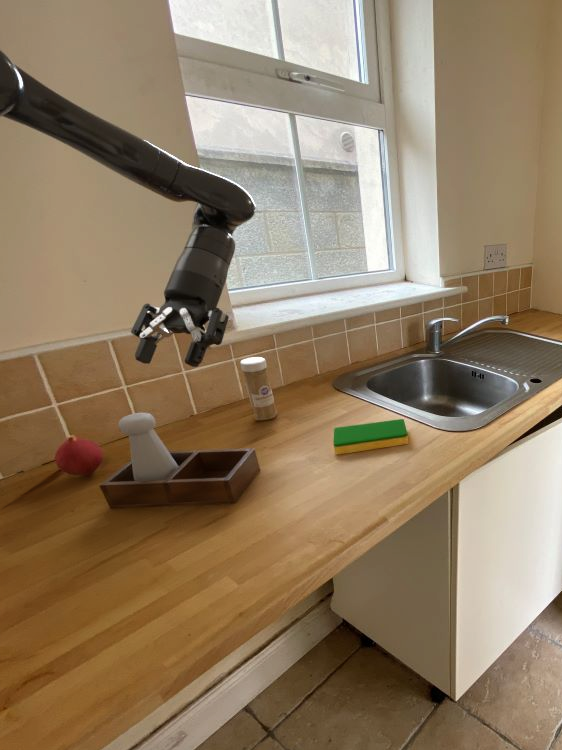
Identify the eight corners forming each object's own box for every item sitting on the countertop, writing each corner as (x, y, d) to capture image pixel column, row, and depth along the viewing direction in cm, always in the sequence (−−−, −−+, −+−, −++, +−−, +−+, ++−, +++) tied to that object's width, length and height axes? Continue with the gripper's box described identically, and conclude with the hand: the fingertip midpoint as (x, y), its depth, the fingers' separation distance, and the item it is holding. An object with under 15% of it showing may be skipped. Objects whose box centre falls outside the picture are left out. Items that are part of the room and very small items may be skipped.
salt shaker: (144, 479, 76) (116, 411, 71) (185, 471, 79) (161, 405, 73) (135, 498, 72) (104, 428, 66) (179, 490, 74) (153, 420, 68)
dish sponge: (408, 444, 91) (407, 434, 90) (335, 455, 86) (333, 444, 85) (404, 428, 97) (403, 418, 96) (335, 437, 92) (333, 427, 91)
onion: (57, 480, 76) (36, 440, 73) (96, 463, 81) (78, 424, 78) (79, 488, 75) (59, 447, 71) (118, 470, 80) (101, 431, 76)
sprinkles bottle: (266, 423, 97) (251, 365, 91) (249, 419, 98) (234, 361, 92) (282, 414, 101) (269, 357, 95) (266, 410, 102) (253, 354, 96)
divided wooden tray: (109, 509, 70) (98, 485, 68) (149, 473, 79) (140, 451, 77) (235, 503, 73) (228, 480, 71) (260, 469, 81) (254, 448, 79)
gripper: (142, 266, 77) (105, 351, 71) (222, 270, 76) (190, 356, 71) (176, 290, 84) (144, 369, 78) (249, 294, 83) (222, 374, 78)
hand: (166, 363), depth 74 cm, fingers open, 8 cm apart
